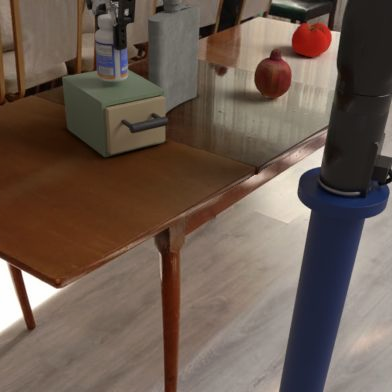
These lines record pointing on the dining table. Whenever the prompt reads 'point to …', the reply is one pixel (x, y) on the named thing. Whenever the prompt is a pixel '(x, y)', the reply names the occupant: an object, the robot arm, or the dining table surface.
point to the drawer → (135, 124)
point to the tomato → (311, 39)
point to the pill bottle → (109, 53)
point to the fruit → (273, 75)
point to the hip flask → (174, 51)
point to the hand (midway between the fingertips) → (111, 44)
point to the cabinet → (100, 104)
